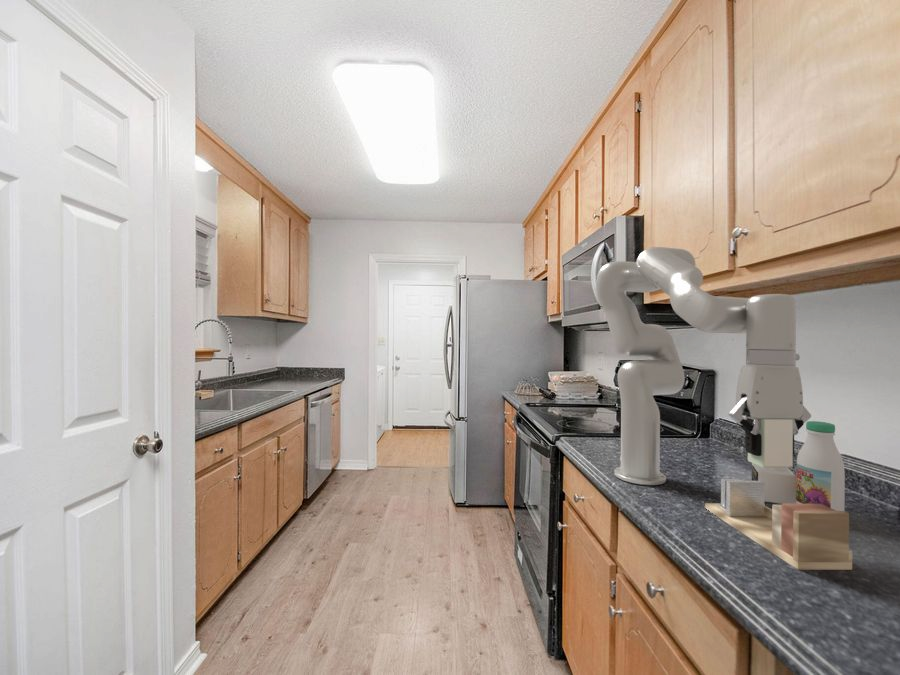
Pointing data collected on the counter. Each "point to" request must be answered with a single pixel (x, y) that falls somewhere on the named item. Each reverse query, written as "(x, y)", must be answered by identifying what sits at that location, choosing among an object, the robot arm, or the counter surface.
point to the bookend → (742, 498)
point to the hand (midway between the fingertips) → (769, 453)
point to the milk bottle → (820, 468)
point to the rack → (798, 534)
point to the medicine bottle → (776, 483)
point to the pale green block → (775, 443)
